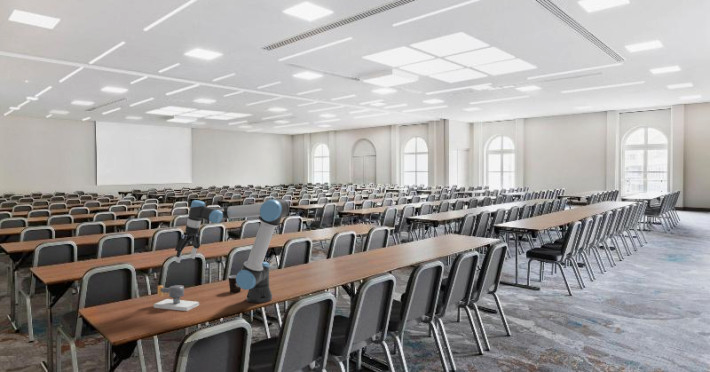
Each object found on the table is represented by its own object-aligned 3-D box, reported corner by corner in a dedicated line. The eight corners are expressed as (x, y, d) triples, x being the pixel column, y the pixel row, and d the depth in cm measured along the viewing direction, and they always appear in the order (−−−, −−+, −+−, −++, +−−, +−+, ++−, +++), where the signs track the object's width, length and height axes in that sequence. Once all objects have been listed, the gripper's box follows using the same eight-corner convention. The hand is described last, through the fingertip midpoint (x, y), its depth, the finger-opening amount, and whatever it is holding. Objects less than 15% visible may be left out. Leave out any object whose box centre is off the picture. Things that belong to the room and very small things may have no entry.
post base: (199, 305, 254) (198, 295, 254) (186, 311, 244) (186, 300, 244) (167, 302, 260) (166, 292, 260) (153, 307, 250) (153, 297, 250)
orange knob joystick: (186, 296, 255) (186, 285, 254) (177, 300, 247) (177, 289, 247) (163, 294, 259) (162, 283, 259) (153, 298, 251) (153, 287, 251)
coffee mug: (228, 294, 278) (228, 278, 278) (228, 290, 287) (228, 275, 286) (247, 292, 281) (247, 277, 281) (246, 289, 290) (246, 274, 289)
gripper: (200, 222, 273) (193, 254, 274) (173, 226, 249) (165, 261, 250) (210, 225, 271) (203, 258, 272) (184, 230, 247) (176, 265, 248)
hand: (185, 260), depth 261 cm, fingers open, 13 cm apart
